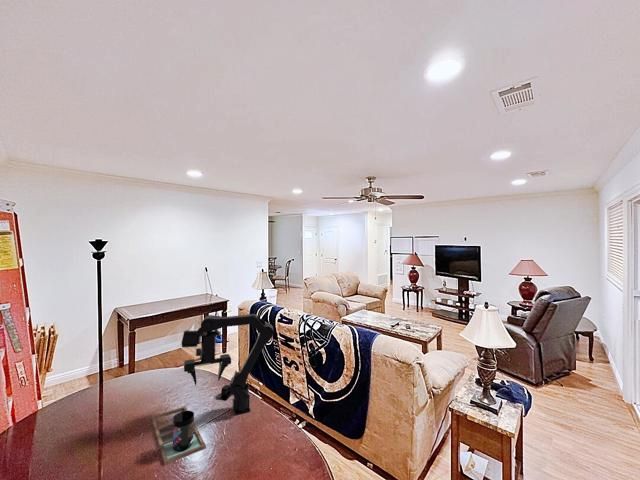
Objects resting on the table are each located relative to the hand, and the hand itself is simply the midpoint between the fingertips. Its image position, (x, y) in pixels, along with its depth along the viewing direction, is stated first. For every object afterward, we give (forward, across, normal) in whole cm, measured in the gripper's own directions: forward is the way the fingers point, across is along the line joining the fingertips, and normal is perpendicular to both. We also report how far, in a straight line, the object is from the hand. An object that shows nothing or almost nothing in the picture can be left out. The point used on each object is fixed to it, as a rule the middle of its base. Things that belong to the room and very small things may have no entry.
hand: (207, 382), depth 121 cm
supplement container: (+13, +10, +18) cm, 24 cm away
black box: (+14, -10, -12) cm, 21 cm away
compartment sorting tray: (+13, +12, +8) cm, 19 cm away
